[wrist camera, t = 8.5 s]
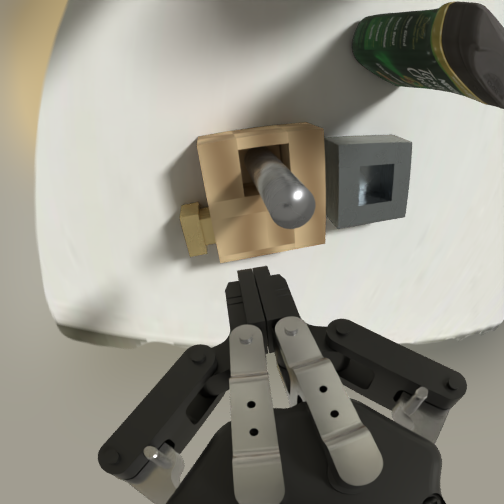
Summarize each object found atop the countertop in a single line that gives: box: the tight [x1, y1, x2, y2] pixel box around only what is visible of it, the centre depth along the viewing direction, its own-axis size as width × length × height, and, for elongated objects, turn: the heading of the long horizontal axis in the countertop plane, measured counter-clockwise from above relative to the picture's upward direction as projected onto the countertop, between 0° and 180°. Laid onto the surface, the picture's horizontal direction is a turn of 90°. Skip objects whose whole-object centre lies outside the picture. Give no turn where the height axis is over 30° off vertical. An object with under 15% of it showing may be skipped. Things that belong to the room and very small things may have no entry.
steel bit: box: [244, 146, 316, 229], centre depth 24 cm, size 3×3×13 cm
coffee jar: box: [352, 2, 504, 109], centre depth 17 cm, size 10×8×19 cm
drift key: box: [180, 202, 216, 257], centre depth 33 cm, size 5×8×3 cm, turn 97°
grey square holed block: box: [324, 135, 412, 229], centre depth 32 cm, size 10×10×4 cm
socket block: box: [197, 122, 326, 263], centre depth 30 cm, size 12×13×5 cm
